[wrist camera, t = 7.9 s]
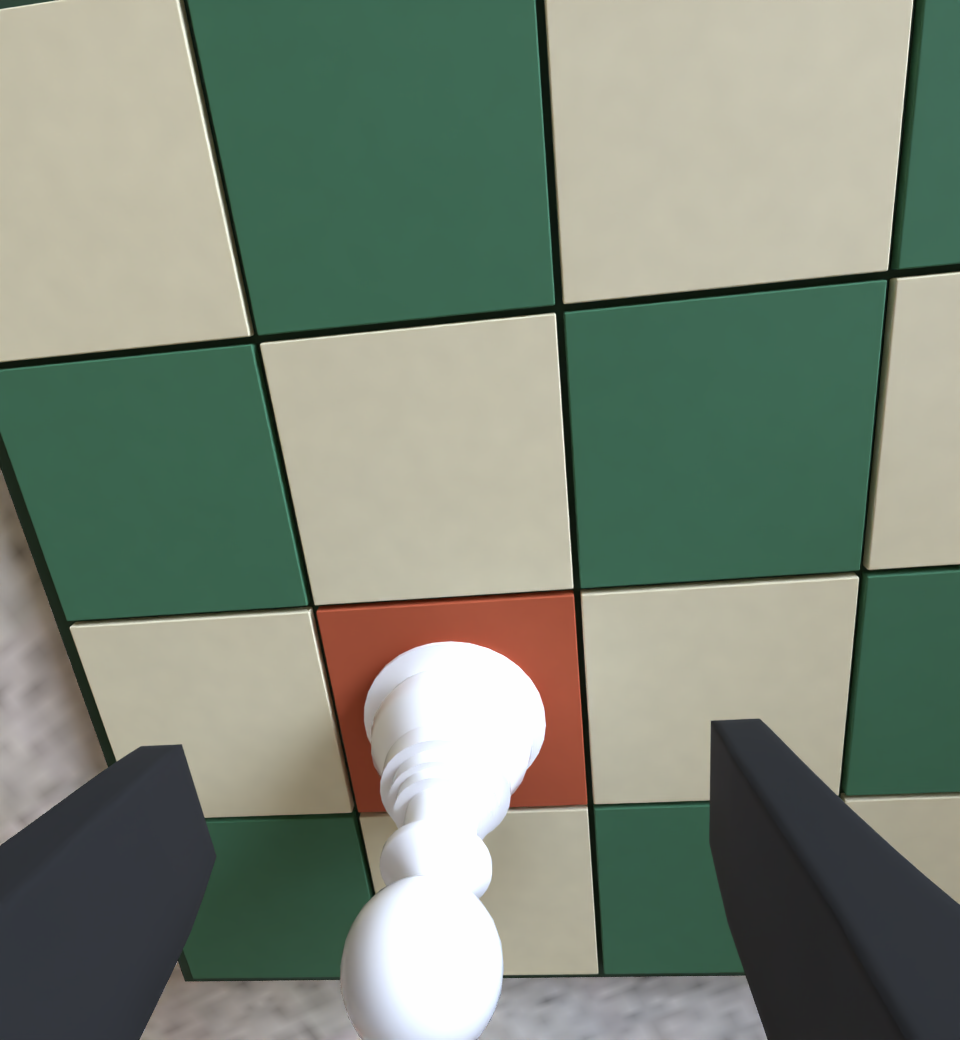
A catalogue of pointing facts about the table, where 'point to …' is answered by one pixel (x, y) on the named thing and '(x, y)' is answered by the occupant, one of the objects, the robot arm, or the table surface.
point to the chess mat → (493, 424)
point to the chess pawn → (438, 840)
